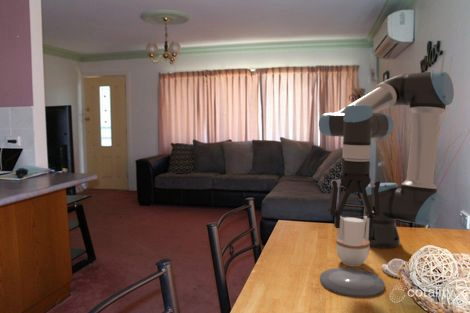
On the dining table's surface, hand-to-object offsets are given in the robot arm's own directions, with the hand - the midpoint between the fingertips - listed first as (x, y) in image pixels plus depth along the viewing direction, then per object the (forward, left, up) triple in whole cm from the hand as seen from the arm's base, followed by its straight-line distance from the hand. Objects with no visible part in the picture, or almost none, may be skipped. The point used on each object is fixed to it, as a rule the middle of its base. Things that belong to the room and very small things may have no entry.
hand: (352, 239), depth 114 cm
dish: (0, 0, -13) cm, 13 cm away
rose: (-17, -8, -14) cm, 23 cm away
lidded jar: (-5, -16, -13) cm, 22 cm away
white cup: (0, 0, -1) cm, 1 cm away
